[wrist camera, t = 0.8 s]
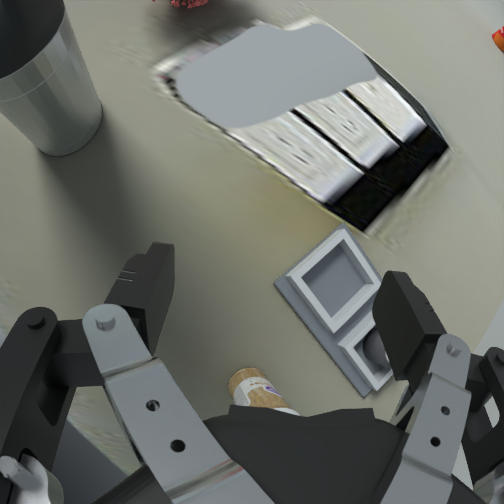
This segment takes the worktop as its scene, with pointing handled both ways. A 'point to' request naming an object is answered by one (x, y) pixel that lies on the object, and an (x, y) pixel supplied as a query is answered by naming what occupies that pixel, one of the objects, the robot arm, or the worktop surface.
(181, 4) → the virus model
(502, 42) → the paper cup
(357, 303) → the grey flat tray
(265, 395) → the sprinkles bottle
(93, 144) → the worktop surface
